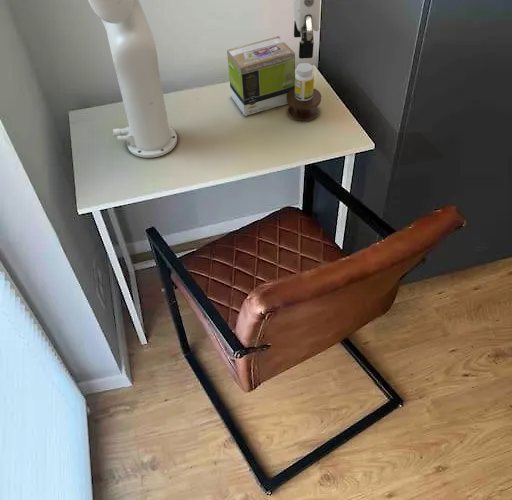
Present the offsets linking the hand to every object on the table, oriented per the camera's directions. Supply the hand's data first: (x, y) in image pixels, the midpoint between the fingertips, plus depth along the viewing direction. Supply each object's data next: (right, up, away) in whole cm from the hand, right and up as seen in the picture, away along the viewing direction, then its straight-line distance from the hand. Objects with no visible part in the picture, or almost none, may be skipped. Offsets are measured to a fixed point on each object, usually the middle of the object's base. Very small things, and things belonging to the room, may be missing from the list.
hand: (302, 46), depth 138 cm
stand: (+1, -12, +14) cm, 19 cm away
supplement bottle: (+1, -9, +11) cm, 14 cm away
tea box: (-10, -8, +18) cm, 22 cm away
